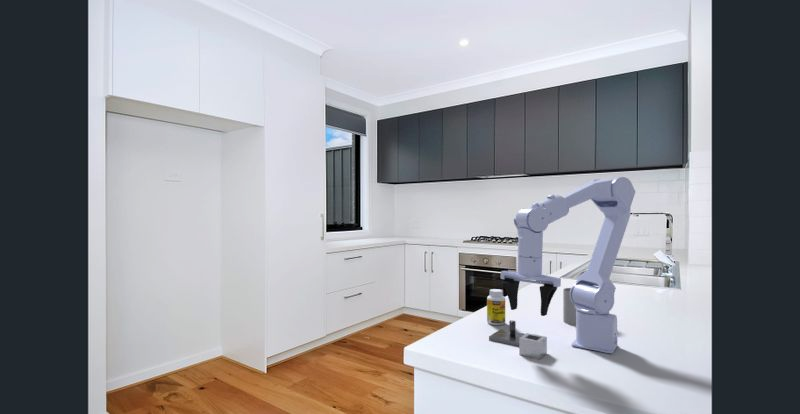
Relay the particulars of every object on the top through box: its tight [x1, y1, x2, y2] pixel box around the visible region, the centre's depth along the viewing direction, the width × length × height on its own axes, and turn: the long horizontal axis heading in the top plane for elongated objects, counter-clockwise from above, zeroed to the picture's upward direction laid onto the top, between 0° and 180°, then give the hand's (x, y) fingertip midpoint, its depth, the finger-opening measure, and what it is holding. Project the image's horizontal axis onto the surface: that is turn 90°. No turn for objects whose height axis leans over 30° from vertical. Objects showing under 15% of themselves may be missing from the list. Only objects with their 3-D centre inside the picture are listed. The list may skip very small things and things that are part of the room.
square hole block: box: [518, 332, 548, 360], centre depth 97 cm, size 5×5×4 cm
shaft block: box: [488, 320, 526, 347], centre depth 107 cm, size 10×8×5 cm
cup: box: [562, 287, 576, 327], centre depth 123 cm, size 8×8×10 cm
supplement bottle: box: [486, 288, 506, 326], centre depth 123 cm, size 6×6×10 cm
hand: (528, 312), depth 97 cm, fingers open, 7 cm apart
